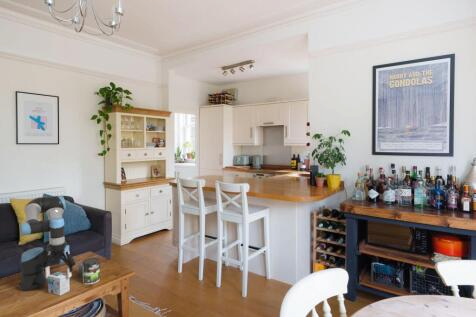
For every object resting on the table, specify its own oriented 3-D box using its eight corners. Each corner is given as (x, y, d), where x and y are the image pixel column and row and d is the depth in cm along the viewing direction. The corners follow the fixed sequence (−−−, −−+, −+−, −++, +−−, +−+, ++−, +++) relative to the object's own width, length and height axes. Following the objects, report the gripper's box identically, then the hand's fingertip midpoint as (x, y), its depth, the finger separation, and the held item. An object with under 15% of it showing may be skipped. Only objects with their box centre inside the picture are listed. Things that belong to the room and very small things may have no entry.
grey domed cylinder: (77, 276, 197) (76, 265, 197) (81, 273, 202) (80, 262, 202) (84, 276, 197) (83, 265, 197) (88, 273, 202) (87, 262, 202)
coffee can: (102, 280, 192) (102, 259, 191) (87, 286, 184) (86, 264, 183) (95, 275, 198) (94, 256, 198) (80, 281, 190) (79, 260, 189)
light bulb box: (47, 292, 176) (47, 275, 175) (58, 287, 182) (57, 271, 182) (60, 295, 172) (59, 278, 172) (70, 290, 178) (69, 273, 178)
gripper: (33, 245, 172) (34, 280, 173) (74, 245, 172) (75, 279, 172) (41, 241, 179) (43, 274, 180) (81, 241, 179) (82, 274, 180)
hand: (58, 277), depth 176 cm, fingers open, 13 cm apart
